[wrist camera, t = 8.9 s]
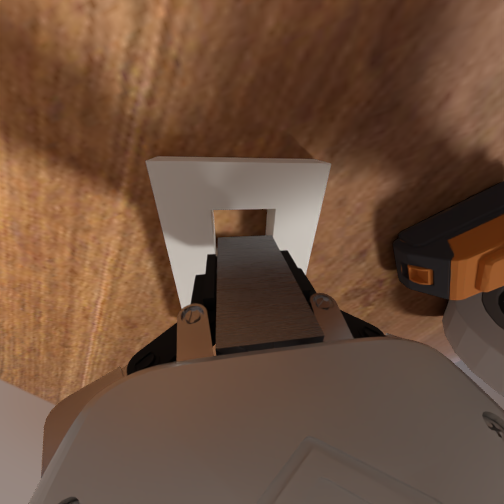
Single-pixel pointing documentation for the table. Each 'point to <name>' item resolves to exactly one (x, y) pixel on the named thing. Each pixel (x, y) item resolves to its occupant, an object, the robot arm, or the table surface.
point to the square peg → (259, 299)
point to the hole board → (234, 205)
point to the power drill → (456, 249)
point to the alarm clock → (479, 334)
